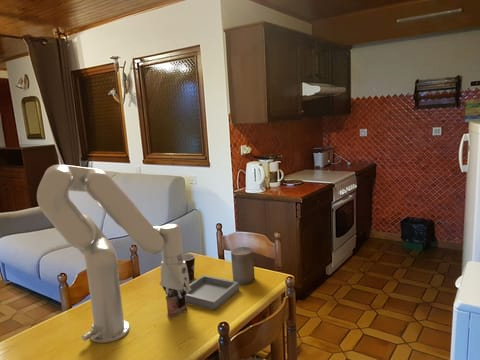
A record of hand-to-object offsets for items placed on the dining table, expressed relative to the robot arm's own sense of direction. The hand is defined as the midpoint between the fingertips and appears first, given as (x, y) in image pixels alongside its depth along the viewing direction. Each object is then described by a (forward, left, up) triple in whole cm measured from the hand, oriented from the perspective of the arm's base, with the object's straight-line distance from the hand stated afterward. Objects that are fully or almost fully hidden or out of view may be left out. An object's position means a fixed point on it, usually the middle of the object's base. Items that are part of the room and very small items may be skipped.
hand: (176, 304), depth 134 cm
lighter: (0, 0, -4) cm, 4 cm away
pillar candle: (+34, -9, -4) cm, 35 cm away
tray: (+16, -3, -3) cm, 17 cm away
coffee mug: (+24, +16, -4) cm, 29 cm away
